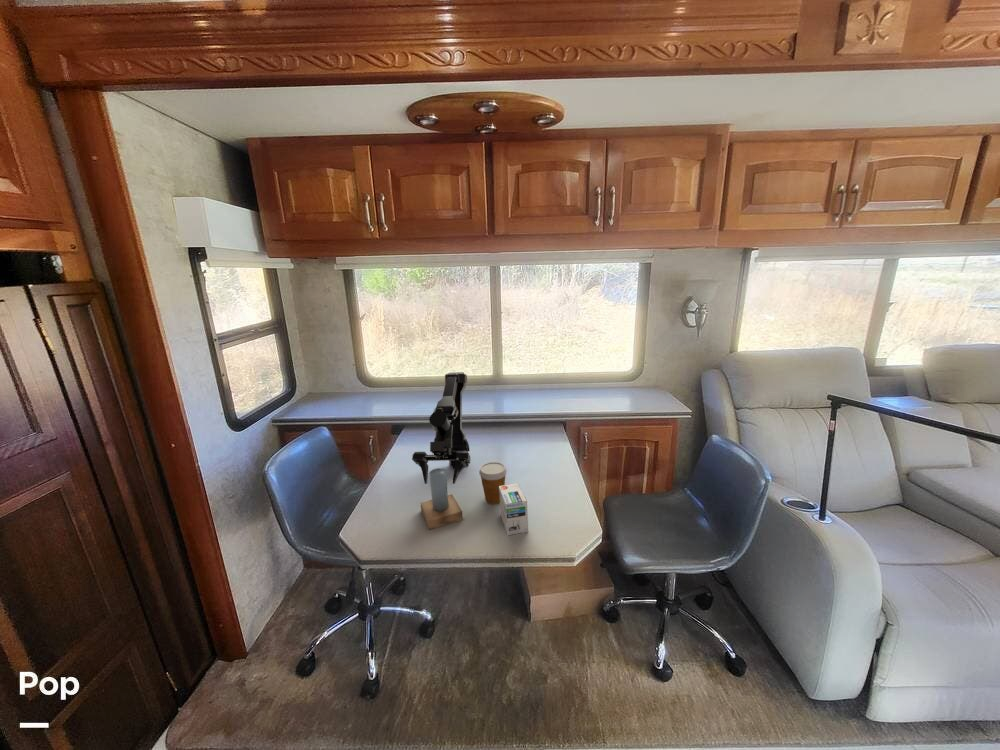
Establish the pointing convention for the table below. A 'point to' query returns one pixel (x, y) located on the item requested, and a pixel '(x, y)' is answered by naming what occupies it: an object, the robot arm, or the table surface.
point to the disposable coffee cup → (492, 480)
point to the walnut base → (441, 513)
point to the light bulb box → (513, 509)
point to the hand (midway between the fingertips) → (439, 483)
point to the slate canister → (439, 489)
